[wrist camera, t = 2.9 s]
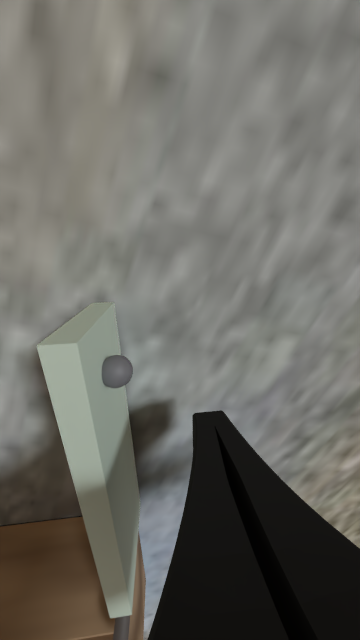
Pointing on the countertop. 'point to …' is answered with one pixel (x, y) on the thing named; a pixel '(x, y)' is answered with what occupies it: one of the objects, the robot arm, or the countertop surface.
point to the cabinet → (59, 586)
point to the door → (98, 441)
